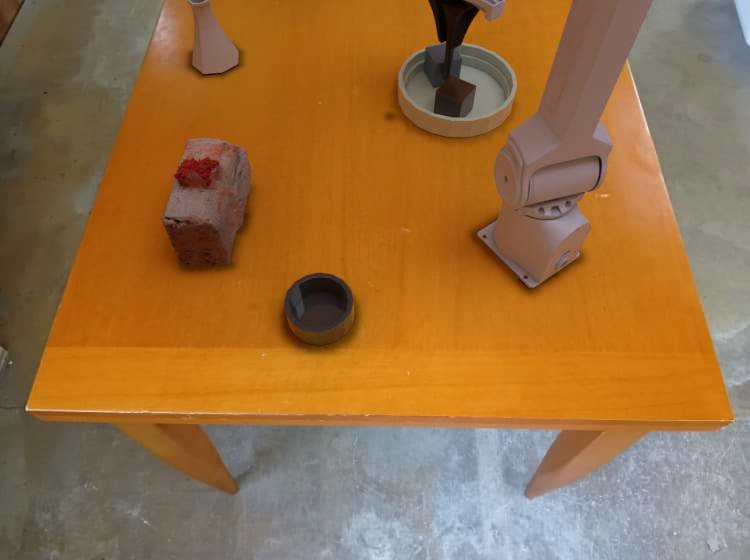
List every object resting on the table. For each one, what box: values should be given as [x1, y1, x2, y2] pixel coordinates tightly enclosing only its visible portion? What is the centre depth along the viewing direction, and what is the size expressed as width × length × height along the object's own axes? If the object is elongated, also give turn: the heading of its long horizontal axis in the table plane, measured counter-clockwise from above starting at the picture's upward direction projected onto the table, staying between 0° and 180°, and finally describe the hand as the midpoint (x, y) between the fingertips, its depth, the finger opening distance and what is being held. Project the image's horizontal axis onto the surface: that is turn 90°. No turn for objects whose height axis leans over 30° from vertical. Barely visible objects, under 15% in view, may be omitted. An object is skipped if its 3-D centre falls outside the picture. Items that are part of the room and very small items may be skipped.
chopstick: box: [443, 46, 454, 81], centre depth 76 cm, size 1×1×9 cm
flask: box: [186, 0, 240, 75], centre depth 82 cm, size 7×7×10 cm
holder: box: [283, 272, 356, 346], centre depth 61 cm, size 7×7×4 cm
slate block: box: [424, 42, 462, 88], centre depth 81 cm, size 4×4×4 cm
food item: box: [160, 137, 252, 266], centre depth 66 cm, size 14×8×10 cm, turn 178°
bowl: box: [397, 42, 518, 138], centre depth 80 cm, size 16×16×4 cm
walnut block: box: [434, 75, 477, 118], centre depth 77 cm, size 4×4×4 cm
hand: (449, 42), depth 76 cm, fingers closed on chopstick, 1 cm apart
